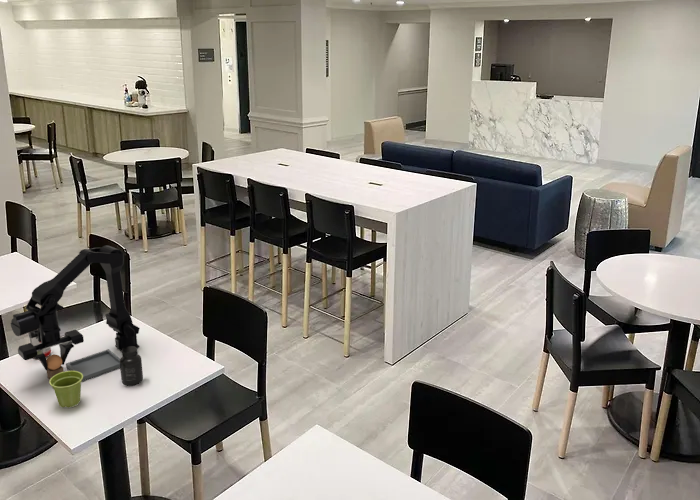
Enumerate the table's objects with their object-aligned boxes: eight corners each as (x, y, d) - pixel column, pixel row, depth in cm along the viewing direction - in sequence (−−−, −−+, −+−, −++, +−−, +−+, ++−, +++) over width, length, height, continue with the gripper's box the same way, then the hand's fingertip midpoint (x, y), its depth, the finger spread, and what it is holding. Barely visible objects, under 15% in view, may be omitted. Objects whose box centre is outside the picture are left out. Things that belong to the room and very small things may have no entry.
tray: (108, 353, 217) (108, 349, 216) (124, 366, 209) (124, 362, 208) (66, 368, 206) (65, 363, 206) (81, 382, 198) (80, 377, 198)
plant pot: (61, 415, 181) (58, 390, 178) (47, 402, 187) (43, 378, 184) (91, 402, 188) (88, 378, 185) (76, 390, 194) (73, 367, 191)
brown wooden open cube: (59, 373, 203) (58, 363, 202) (64, 378, 200) (63, 367, 199) (47, 377, 200) (46, 367, 199) (52, 382, 198) (50, 371, 196)
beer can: (55, 351, 216) (49, 311, 211) (44, 360, 210) (38, 319, 205) (38, 350, 216) (32, 310, 211) (27, 359, 211) (21, 317, 205)
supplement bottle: (147, 378, 202) (145, 346, 198) (134, 388, 196) (131, 356, 192) (130, 374, 204) (127, 342, 200) (117, 384, 198) (113, 352, 194)
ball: (59, 363, 202) (57, 350, 201) (65, 369, 199) (63, 355, 197) (44, 368, 199) (42, 355, 197) (49, 374, 196) (48, 360, 194)
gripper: (67, 308, 205) (72, 348, 210) (8, 324, 192) (15, 367, 198) (81, 319, 198) (86, 361, 203) (21, 337, 185) (28, 381, 190)
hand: (54, 367), depth 199 cm, fingers closed on ball, 5 cm apart
